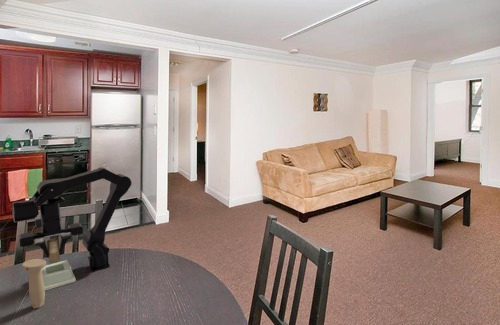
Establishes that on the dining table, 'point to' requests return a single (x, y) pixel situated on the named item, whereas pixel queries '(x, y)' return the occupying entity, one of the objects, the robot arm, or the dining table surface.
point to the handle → (35, 281)
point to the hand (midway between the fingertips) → (54, 255)
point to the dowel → (53, 250)
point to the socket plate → (57, 275)
